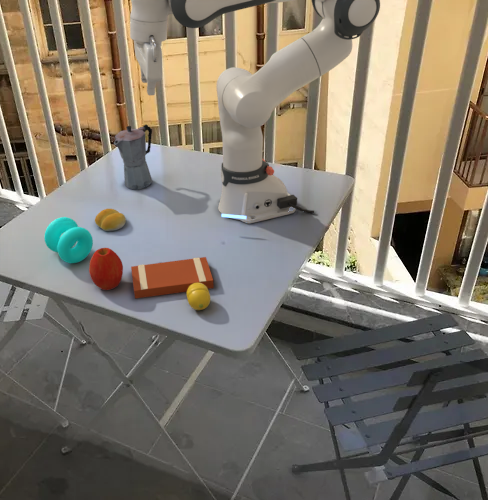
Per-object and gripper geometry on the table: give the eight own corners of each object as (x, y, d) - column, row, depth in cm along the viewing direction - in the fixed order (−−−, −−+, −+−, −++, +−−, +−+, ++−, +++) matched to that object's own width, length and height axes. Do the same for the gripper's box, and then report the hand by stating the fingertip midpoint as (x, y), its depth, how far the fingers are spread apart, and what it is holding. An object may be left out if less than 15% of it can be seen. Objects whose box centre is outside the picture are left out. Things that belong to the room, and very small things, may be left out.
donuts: (78, 241, 156) (72, 210, 151) (97, 255, 150) (91, 223, 144) (46, 255, 151) (39, 223, 146) (64, 271, 145) (57, 238, 139)
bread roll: (109, 235, 158) (107, 223, 156) (91, 224, 164) (89, 212, 161) (132, 224, 162) (131, 212, 160) (114, 213, 168) (112, 201, 166)
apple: (115, 270, 143) (110, 235, 137) (131, 286, 138) (126, 250, 132) (86, 282, 140) (79, 246, 134) (101, 299, 134) (94, 262, 128)
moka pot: (111, 188, 181) (103, 129, 170) (144, 170, 191) (138, 114, 180) (132, 196, 176) (125, 136, 165) (165, 177, 185) (160, 119, 174)
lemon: (185, 297, 133) (184, 279, 130) (207, 294, 133) (206, 276, 130) (190, 317, 126) (189, 299, 124) (213, 314, 127) (212, 296, 124)
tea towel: (206, 264, 143) (205, 256, 142) (213, 288, 135) (213, 279, 133) (132, 274, 142) (131, 266, 140) (135, 298, 133) (133, 290, 132)
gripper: (169, 42, 126) (167, 102, 134) (154, 20, 142) (153, 75, 150) (142, 42, 125) (141, 102, 132) (130, 20, 141) (130, 75, 149)
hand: (147, 88), depth 141 cm, fingers open, 8 cm apart
